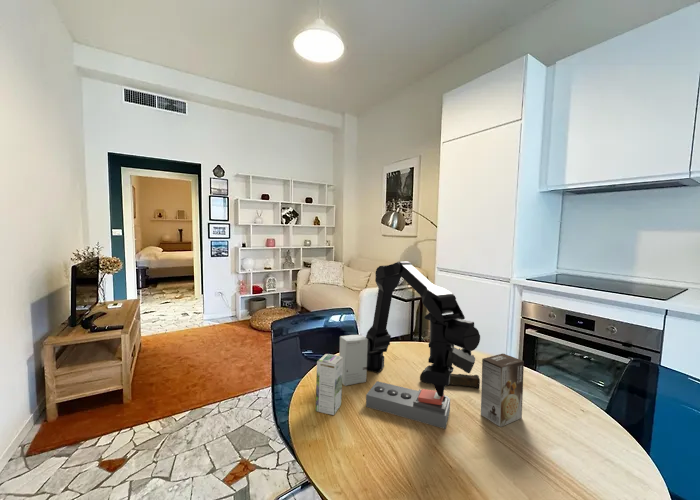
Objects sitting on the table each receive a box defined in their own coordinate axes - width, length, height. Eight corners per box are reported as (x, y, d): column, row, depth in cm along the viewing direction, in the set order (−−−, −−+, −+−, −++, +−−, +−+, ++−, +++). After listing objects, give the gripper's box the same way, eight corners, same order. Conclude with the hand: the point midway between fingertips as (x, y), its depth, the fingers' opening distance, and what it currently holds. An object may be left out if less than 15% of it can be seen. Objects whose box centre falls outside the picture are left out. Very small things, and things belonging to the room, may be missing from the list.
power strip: (365, 406, 86) (366, 391, 85) (376, 391, 94) (377, 377, 93) (445, 428, 76) (446, 411, 76) (449, 410, 84) (450, 395, 84)
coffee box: (501, 406, 87) (503, 352, 86) (522, 418, 81) (525, 360, 80) (479, 414, 83) (481, 358, 82) (500, 428, 77) (503, 367, 76)
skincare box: (344, 386, 97) (345, 341, 96) (337, 378, 102) (338, 335, 102) (367, 382, 100) (368, 338, 99) (360, 374, 106) (360, 333, 105)
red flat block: (418, 401, 81) (418, 397, 81) (422, 393, 85) (422, 388, 85) (441, 405, 78) (441, 400, 78) (444, 396, 83) (443, 391, 83)
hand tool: (477, 384, 100) (477, 371, 100) (480, 390, 96) (480, 376, 96) (419, 378, 104) (420, 365, 103) (420, 384, 100) (420, 370, 100)
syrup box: (323, 401, 88) (324, 352, 87) (342, 405, 86) (343, 355, 85) (315, 411, 83) (315, 360, 82) (334, 416, 81) (335, 363, 80)
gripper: (471, 355, 69) (470, 422, 69) (474, 332, 85) (474, 386, 86) (422, 348, 73) (422, 410, 74) (435, 328, 90) (434, 379, 91)
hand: (440, 395), depth 81 cm, fingers closed, pressing on red flat block
